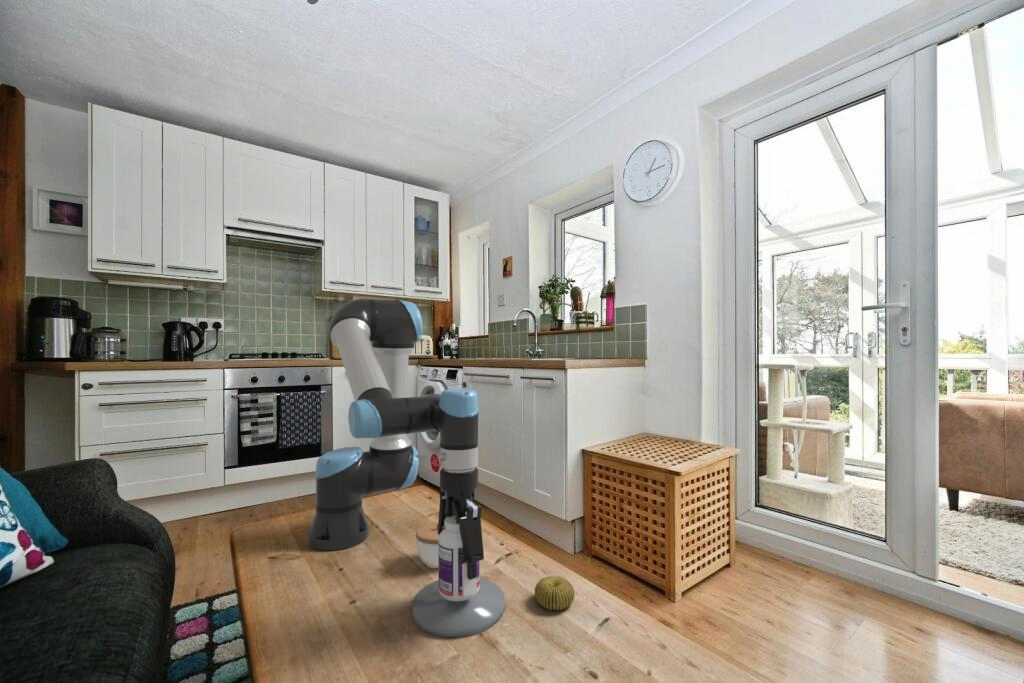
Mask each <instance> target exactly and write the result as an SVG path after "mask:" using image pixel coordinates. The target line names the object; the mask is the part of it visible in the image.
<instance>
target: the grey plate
mask: <svg viewBox="0 0 1024 683" xmlns="http://www.w3.org/2000/svg"><path fill="white" fill-rule="evenodd" d="M505 597H506V596H505V594H504V591H503V590H502V588H501V587H500V586H499V585H498V584H496V583H494V582H493V581H492V580H489V579H486V578H483V577H480V587H479V590H478V592H477V594H476V595H475V596H474V597H472V598H470V599H468V600H464V601H449V600H446V599H445V598H443V597H442V596H441V595H440V593H439V579H438V580H435V581H433V582H431V583H429V584H426V585H425V586H424V587H423V588H421V589H420V590H419V591H418V592H417V593H416V594H415V596H414V598H413V602H412V605H411V606H412V607H411V608H412V611H411V612H412V618H413V621H414V623H415V624H416V625H417V627H419V629H421V630H422V631H424V632H426V633H428V634H430V635H433V636H437V637H442V638H463V637H469V636H470V637H471V636H474V635H477V634H480V633H483V632H485V631H487V630H488V629H490V628H492V627H493V626H495V625H496V624H497V623H498V622H499V621H500V620H501V618H502V617H503V615H504V613H505V607H506V603H505V602H506V601H505V600H506V599H505Z"/></svg>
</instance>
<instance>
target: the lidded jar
mask: <svg viewBox="0 0 1024 683" xmlns="http://www.w3.org/2000/svg"><path fill="white" fill-rule="evenodd" d="M442 528H443V527H442ZM438 538H439V535H438V521H431V522H429V523H428V522H427V523H425V524H423V525H420V526H419V527H418V528H417V529H416V531H415V540H416V545H415V546H416V550H417V553H418V554H417V555H418V557H419V558H420V560H421V561H422V562H423V563H424V564H425V566H426V565H427V566H428V568H429V567H432V568H431V569H433V568H439V555H438ZM427 566H426V567H427Z"/></svg>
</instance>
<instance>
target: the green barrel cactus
mask: <svg viewBox="0 0 1024 683" xmlns="http://www.w3.org/2000/svg"><path fill="white" fill-rule="evenodd" d="M534 596H535V600H536V601H537V603H538V604H539V605H541V607H543V608H545V609H547V610H551V611H555V610H556V611H562V610H565V609H567V608H569V607H570V606H571V605H572V603H573V602H574V600H575V590H574V586H573V584H572V583H571V582H570V581H569V580H568V579H565V577H562V576H555V575H551V576H545V577H542V578H541V579H540V580H539V581H538V582H537V583H536V585H535V588H534Z"/></svg>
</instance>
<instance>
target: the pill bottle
mask: <svg viewBox="0 0 1024 683" xmlns="http://www.w3.org/2000/svg"><path fill="white" fill-rule="evenodd" d="M464 518H466V517H462V518H461V519H464ZM444 526H445V529H444V530H443V531H442V532H441V533H440V535H439V538H438V555H439V569H438V580H439V593H440V595H441V596H442V597H443V598H445V599H446V600H449V601H464V600H468V599H470V598H472V597H474V596H475V595H476V594H477V593H474V594H471V595H468V596H466V597H464V596H463V595H462V562H461V560H464V559H465V557H464V552H463V545H462V540H461V534H460V525H459V524H457V523H456V519H455V516H450V517H447V518H446V519H445V521H444ZM480 574H481V573H480V561H477V592H478V590H479V587H480V578H481V576H480Z"/></svg>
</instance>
